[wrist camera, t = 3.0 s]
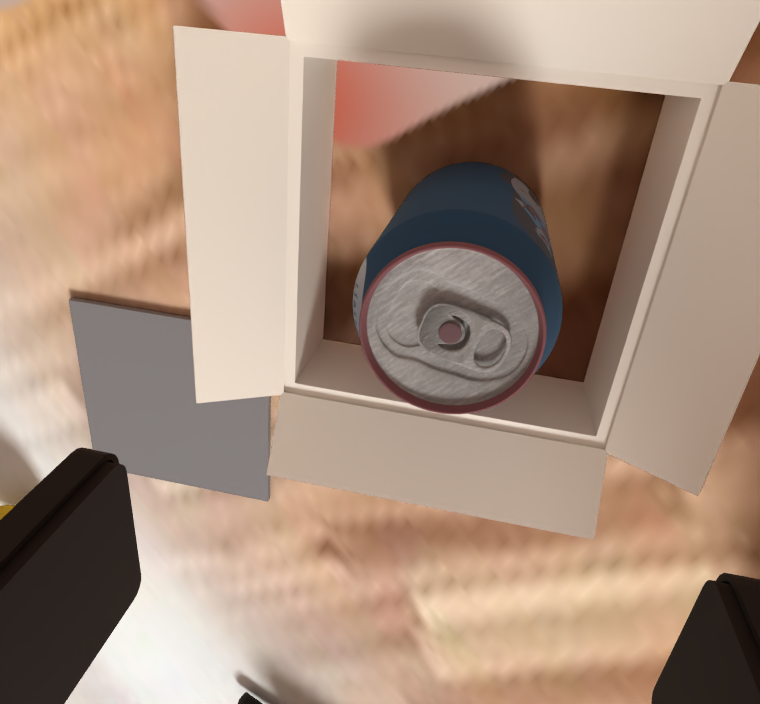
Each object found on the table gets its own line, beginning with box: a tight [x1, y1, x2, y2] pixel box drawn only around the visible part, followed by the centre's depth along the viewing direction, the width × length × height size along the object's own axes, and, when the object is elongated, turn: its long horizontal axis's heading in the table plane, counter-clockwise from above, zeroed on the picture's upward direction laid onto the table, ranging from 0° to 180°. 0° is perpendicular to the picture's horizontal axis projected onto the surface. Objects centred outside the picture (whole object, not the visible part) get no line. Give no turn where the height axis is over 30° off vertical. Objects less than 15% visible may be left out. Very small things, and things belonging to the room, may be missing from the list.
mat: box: [69, 298, 271, 501], centre depth 37 cm, size 12×12×1 cm
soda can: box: [353, 162, 563, 414], centre depth 24 cm, size 7×7×12 cm
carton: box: [173, 0, 760, 540], centre depth 26 cm, size 22×22×7 cm
